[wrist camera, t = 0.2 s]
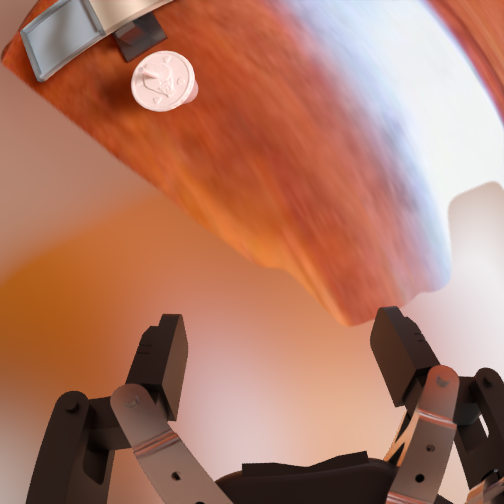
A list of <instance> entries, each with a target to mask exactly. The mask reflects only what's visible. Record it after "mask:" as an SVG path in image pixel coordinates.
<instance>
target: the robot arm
mask: <svg viewBox="0 0 504 504" xmlns="http://www.w3.org/2000/svg"><path fill="white" fill-rule="evenodd" d="M370 345H371V349H372V351H373V353H374V356H375V358H376V361H377V363H378V365H379V368H380V370H381V373H382V375H383V377H384V380H385V382H386V385H387V388H388V390H389V392H390V395H391V398H392V400H393V403H394V405H395V407H399V406H404V405H405V407H406V409H407V410H406V411H405V413H404V415H403V418H402V420H401V423H400V426H399V428H398V431H397V433H396V435H395V438H394V440H393V442H392V445H391V447H390V449H389V451H388V453H387V454H386V456H385V457H384V459H383V460H380V459H376V458H368V455H367V451H362V452H357V453H352V454H346V455H341V456H336V457H334V458H331V459H329V460H326V461H324V462H321V463H318V464H315V465H312V466H309V467H302V466H294V465H287V464H279V463H251V464H250V463H249V464H248V463H246V464H242V470H241V471H237V472H234V473H231V474H228V475H226V476H224V477H221V478H220V479H218V480H216V481H215V482H214V481H213V480H212V478H211V477H209V475H208V474H207V472H206V471H205V470H204V469H203V467H202V466H201V465H200V464H199V462H198V461H197V460H196V459H195V457H194V456H193V455H192V453H191V452H190V451H189V449H188V448H187V447H186V445H185V444H184V443H183V441H182V440H181V439H180V437H179V436H178V435H177V434H176V433H174V431H173V430H172V429H171V427H170V426H169V424H168V423H167V422H168V421H176V419H177V413H178V408H179V402H180V396H181V390H182V384H183V379H184V373H185V368H186V362H187V357H188V342H187V337H186V332H185V327H184V322H183V317H182V315H181V314H163V315H162V317H161V320H160V323H159V326H150V327H149V328H148V329H147V330H146V332H144V334H143V335H142V338H141V340H140V343H139V346H138V348H137V351H136V354H135V357H134V360H133V362H132V365H131V368H130V371H129V374H128V377H127V380H126V383H125V385H122V386H120V387H118V388H117V389H116V390H115V391H114V392H113V394H112V395H111V396H109V397H104V398H97V399H89V400H88V398H87V397H86V395H85V394H83V393H82V392H79V391H69V392H67V393H64V394H63V395H62V396H61V397H59V399H58V400H57V402H56V404H55V407H54V410H53V412H52V415H51V418H50V421H49V423H48V426H47V429H46V432H45V435H44V439H43V441H42V445H41V447H40V451H39V454H38V457H37V461H36V465H35V468H34V472H33V475H32V479H31V483H30V487H29V491H28V495H27V499H26V504H107V497H108V490H109V484H110V477H111V471H112V465H113V460H114V455H115V450H118V449H126V448H133V450H134V455H135V457H136V459H137V461H138V462H139V464H140V466H141V467H142V469H143V471H144V472H145V474H146V476H147V477H148V479H149V480H150V482H151V484H152V485H153V487H154V488H155V490H156V491H157V493H158V494H159V496H160V497H161V499H162V500H163V502H164V503H165V504H453V503H452V502H450V501H448V500H447V499H445V498H444V497H442V496H440V495H439V494H437V493H438V490H439V487H440V485H441V482H442V479H443V475H444V473H445V469H446V466H447V463H448V459H449V456H450V452H451V449H452V444H453V441H454V442H455V445H456V448H457V451H458V454H459V457H460V460H461V463H462V466H463V470H464V473H465V476H466V480H467V483H468V487H469V490H470V492H469V494H468V497H467V501H466V502H465V504H504V382H503V381H502V379H501V377H500V376H499V374H498V373H497V372H496V371H494V370H493V369H490V368H481V369H479V370H478V372H477V373H476V375H475V376H474V377H461V376H458V375H457V373H456V372H455V371H454V370H453V369H452V368H450V367H448V366H444V365H441V364H440V363H439V361H438V359H437V358H436V356H435V354H434V352H433V351H432V349H431V347H430V346H429V344H428V343H427V341H426V340H425V337H424V336H423V334H421V331H420V329H419V328H418V326H417V324H416V323H414V322H413V321H412V320H411V319H410V318H408V317H404V316H403V315H402V313H401V311H400V310H399V308H398V307H397V306H391V307H381V308H379V309H378V311H377V315H376V318H375V322H374V325H373V329H372V332H371V336H370ZM481 414H482V416H483V418H484V421H485V423H486V425H487V427H488V431H489V435H488V438H487V436H486V433H485V431H484V428H483V426H482V424H481V421H480V419H479V416H480V415H481Z"/></svg>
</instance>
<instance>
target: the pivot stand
mask: <svg viewBox="0 0 504 504" xmlns="http://www.w3.org/2000/svg"><path fill="white" fill-rule="evenodd" d="M112 34H113V36H114V38H115V39H116V41H117V43H118V45H119V47H120V49H121V51H122V53H123V55H124V57H125V59H126V60H127V62H131V61H132V60H134V59H135V58H137V57H138V56H140V55H141V54H143V53H144V52H146V51H148V50H149V49H151V48H152V47H154V46H156V45H157V44H159V43H160V42H162V41H164V40H166V39H167V36H166V34H165V32H164V31H163V29H162V27H161V26H160V24H159V22H158V20H157V19H156V17H155V15H154V14H153V12H152V11H150V12H148V13H146V14H144V15H142V16H140V17H138V18H136V19H135V20H133V21H131V22H129V23H127V24H126V25H124V26H122V27H121V28H119V29H117V30H116V31H114V32H112Z"/></svg>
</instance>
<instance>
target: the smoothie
mask: <svg viewBox="0 0 504 504" xmlns="http://www.w3.org/2000/svg"><path fill="white" fill-rule="evenodd" d="M131 90H132V94H133V96H134V98H135V100H136V101H137V102H138V103H139V104H140V105H141V106H143V107H144V108H146V109H149V110H152V111H158V112H160V111H168V110H171V109H174V108H176V107H177V106H179V105H181V104H185V103H189V102H191V101H192V100H193V99H194V98H195V97H196V95H197V93H198V85H197V83H196V81H195V79H194V71H193V68H192V66H191V64H190V63H189V61H188V60H187V59H186V58H184V57H183V56H181V55H179V54H178V53H175V52H171V51H160V52H156V53H153V54H151V55H149V56H147V57H146V58H144V59H143V60H142V61H141V62H140V63H139V64H138V66H137V67H136V69H135V71H134V73H133V76H132V80H131Z"/></svg>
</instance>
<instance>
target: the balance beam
mask: <svg viewBox="0 0 504 504" xmlns="http://www.w3.org/2000/svg"><path fill="white" fill-rule="evenodd" d="M69 1H70V2H69ZM171 1H173V0H72V1H71V0H59V1H57V2H56V3H54V4H53V5H52V6H50V7H49V8H48V9H47V10H45V11H44V12H43V13H41V14H40V15H39V16H38V17H36V18H35V19H34V20H33V21H32V22H30V23H29V24H28V25H27V26H26V27H25V28H23V29H22V30H21V31H20V34H21V37H22V40H23V43H24V46H25V49H26V52H27V54H28V57H29V60H30V63H31V65H32V68H33V71H34V73H35V76H36V79H37V81H39V82H44V81H46V80H47V79H48V78H49V77H51V76H52V75H53V74H54V73H55V72H57V71H58V70H59V69H60V68H62V67H63V66H64V65H66V64H67V63H68V62H70V61H71V60H72V59H74V58H75V57H76V56H78V55H79V54H80V53H82V52H83V51H85V50H86V49H88V48H89V47H91V46H92V45H93V44H95V43H96V42H98V41H100V40H101V39H103V38H104V37H106V36H107V35H109V34H111V33H112V32H114V31H116V30H117V29H119V28H121V27H122V26H124V25H126V24H127V23H129V22H131V21H133V20H135V19H136V18H138V17H140V16H142V15H144V14H146V13H148V12H150V11H152V10H154V9H156V8H158V7H160V6H162V5H164V4H166V3H168V2H171ZM68 2H69V3H68ZM65 4H66V5H65ZM62 6H63V7H62ZM61 7H62V8H61ZM58 9H59V10H58ZM55 11H56V12H55ZM54 12H55V13H54ZM51 14H52V15H51ZM50 15H51V16H50ZM46 18H47V19H46ZM45 19H46V20H45ZM42 21H43V22H42ZM41 22H42V23H41ZM40 23H41V24H40ZM36 26H37V27H36ZM35 27H36V28H35ZM30 31H31V32H30ZM29 32H30V33H29ZM28 33H29V34H28Z"/></svg>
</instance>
